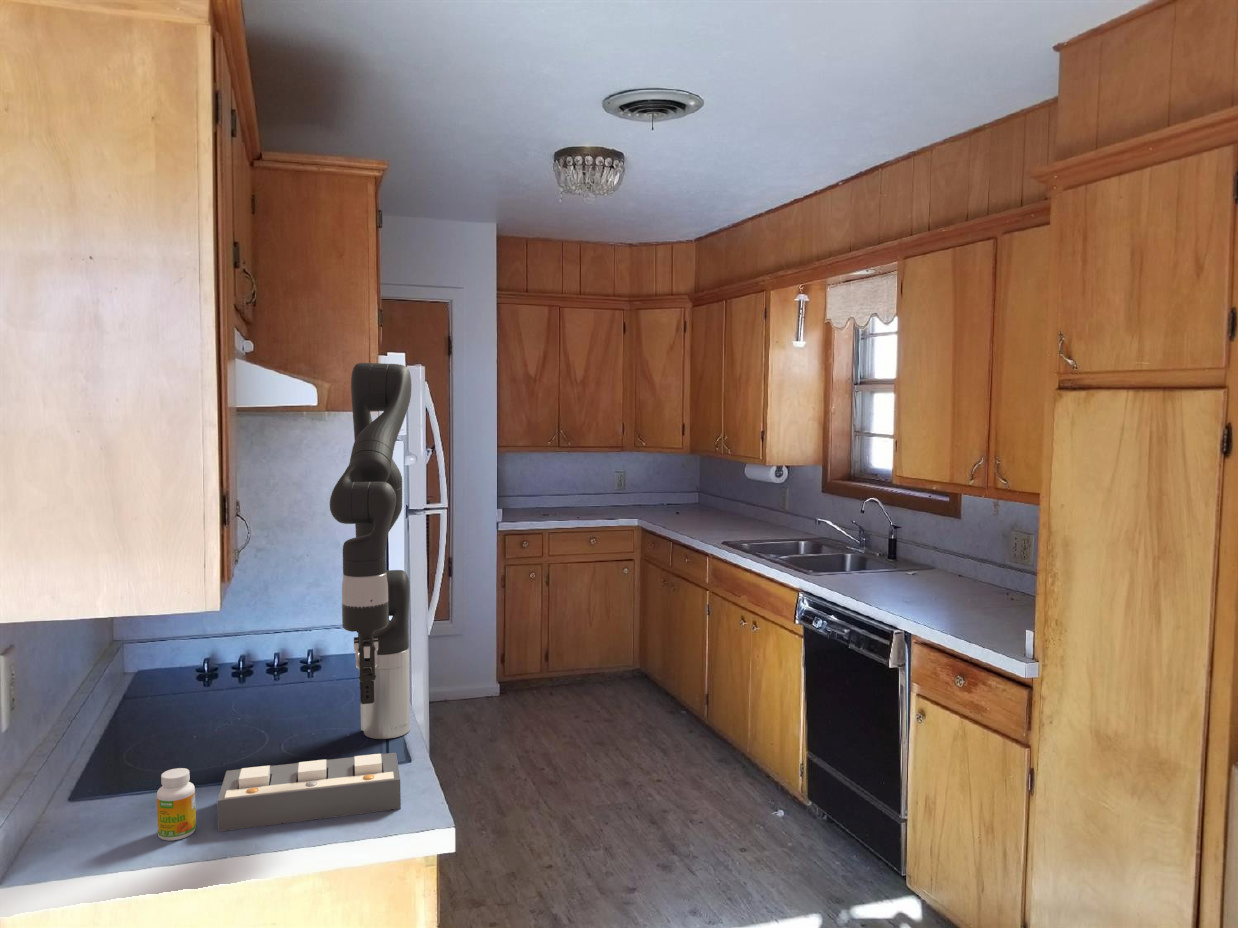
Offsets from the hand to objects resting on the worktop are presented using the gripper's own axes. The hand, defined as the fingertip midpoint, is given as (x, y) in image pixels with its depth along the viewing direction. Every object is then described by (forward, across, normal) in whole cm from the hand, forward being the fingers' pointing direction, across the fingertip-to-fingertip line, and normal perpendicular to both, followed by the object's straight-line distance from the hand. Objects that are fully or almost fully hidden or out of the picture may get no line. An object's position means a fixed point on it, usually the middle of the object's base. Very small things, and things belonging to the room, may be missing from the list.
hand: (366, 696), depth 154 cm
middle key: (+14, 0, +9) cm, 17 cm away
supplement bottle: (+18, -5, +29) cm, 35 cm away
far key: (+14, 0, 0) cm, 14 cm away
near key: (+14, 0, +18) cm, 23 cm away
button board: (+18, 0, +9) cm, 20 cm away
